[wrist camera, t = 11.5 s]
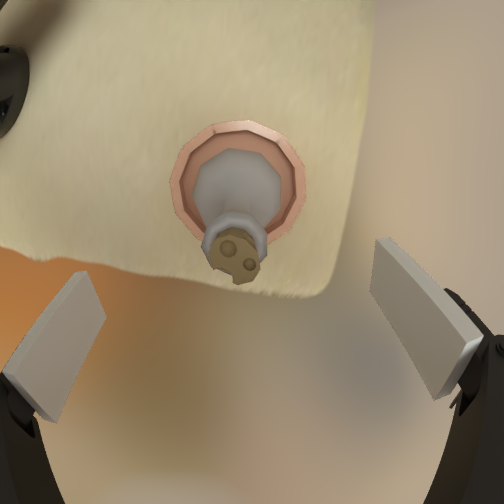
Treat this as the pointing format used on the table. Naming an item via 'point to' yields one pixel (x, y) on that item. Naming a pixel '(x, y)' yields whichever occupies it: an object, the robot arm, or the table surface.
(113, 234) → the table surface
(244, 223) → the potion bottle
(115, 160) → the table surface
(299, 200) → the saucer
